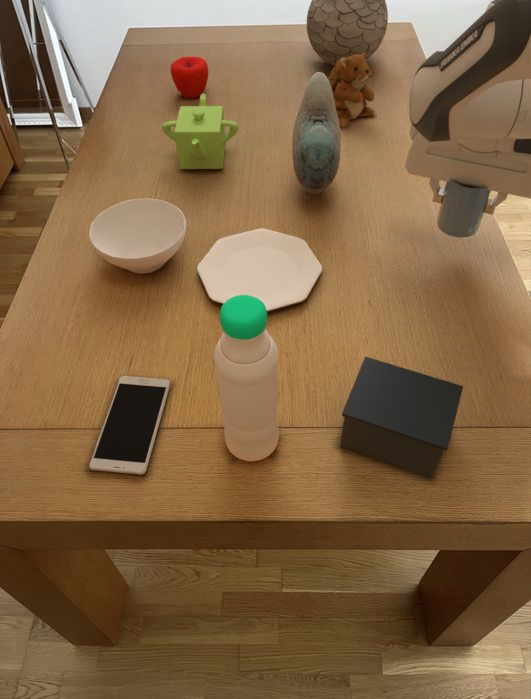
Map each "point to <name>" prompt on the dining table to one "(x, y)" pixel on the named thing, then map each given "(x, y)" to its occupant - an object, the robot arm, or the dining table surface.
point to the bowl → (138, 234)
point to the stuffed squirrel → (351, 88)
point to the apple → (190, 76)
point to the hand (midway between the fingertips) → (463, 206)
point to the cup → (462, 209)
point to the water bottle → (247, 379)
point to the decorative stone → (316, 136)
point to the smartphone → (130, 425)
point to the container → (400, 416)
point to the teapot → (200, 135)
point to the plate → (260, 268)
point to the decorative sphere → (346, 27)
